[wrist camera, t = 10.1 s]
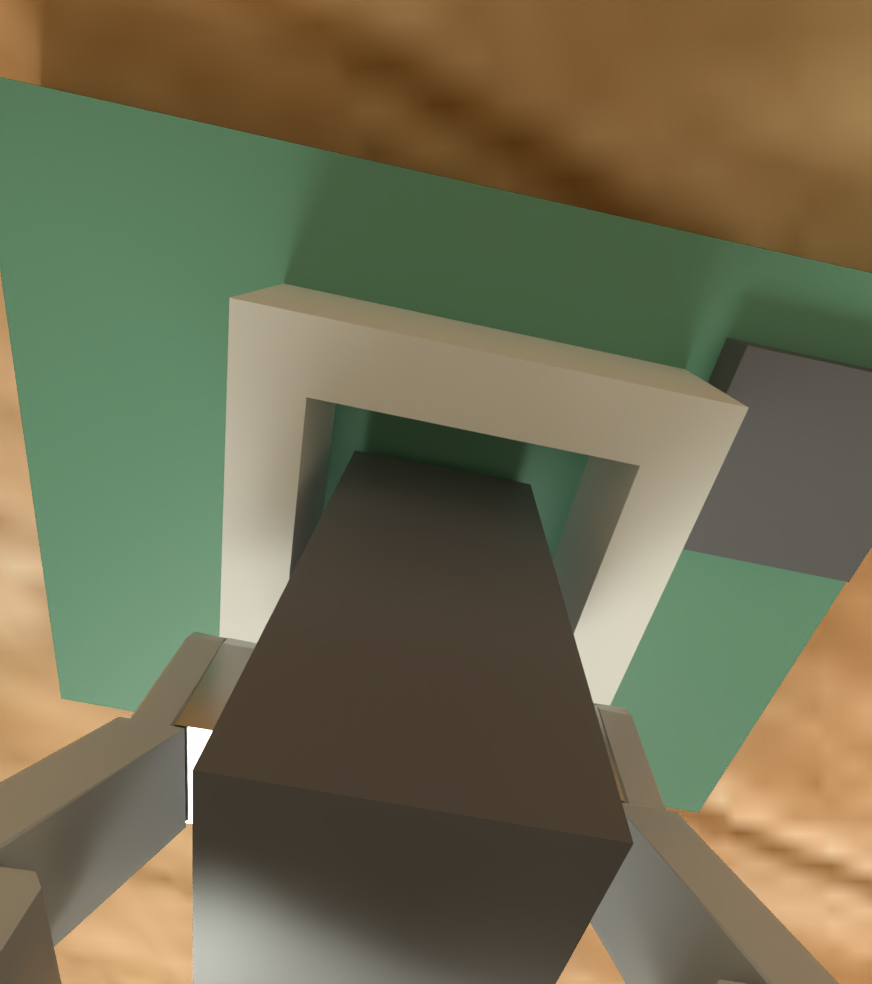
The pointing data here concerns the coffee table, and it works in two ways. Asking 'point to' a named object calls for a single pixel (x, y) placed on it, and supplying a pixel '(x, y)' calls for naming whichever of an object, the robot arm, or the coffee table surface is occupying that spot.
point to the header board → (421, 403)
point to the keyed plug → (407, 754)
